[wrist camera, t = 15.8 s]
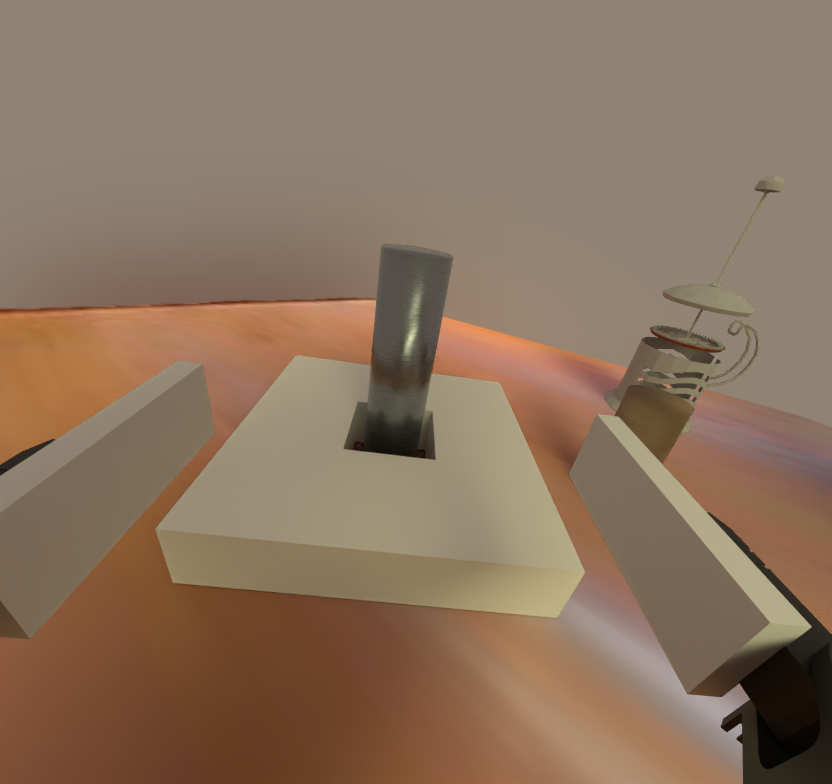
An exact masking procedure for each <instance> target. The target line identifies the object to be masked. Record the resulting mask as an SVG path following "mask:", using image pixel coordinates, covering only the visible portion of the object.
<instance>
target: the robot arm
mask: <svg viewBox="0 0 832 784" xmlns="http://www.w3.org/2000/svg"><path fill="white" fill-rule="evenodd" d="M214 434H215V429H214V424H213V418H212V412H211V407H210V401H209V396H208V390H207V385H206V379H205V374H204V368H203V364H201V363H194V362H186V361H177V362H175V363H174V364H172V365H171V366H169V367H167V368H166V369H164V370H163V371H161V372H160V373H158V374H157V375H155V376H154V377H152V378H150V379H149V380H147V381H146V382H144V383H143V384H141V385H140V386H138V387H137V388H135V389H133V390H132V391H130V392H129V393H127V394H126V395H124V396H123V397H121V398H120V399H118V400H116V401H115V402H113V403H112V404H110V405H109V406H107V407H106V408H104V409H103V410H101V411H100V412H98V413H96V414H95V415H93V416H92V417H90V418H89V419H87V420H86V421H84V422H83V423H81V424H79V425H78V426H76V427H75V428H73V429H72V430H70V431H69V432H67V433H66V434H64V435H62V436H61V437H59V438H58V439H56V440H55V439H52V440H49V441H47V442H44V443H42V444H39V445H37V446H35V447H32V448H30V449H27V450H25V451H22V452H20V453H19V454H17V455H16V456H14V457H12V458H11V459H9V460H8V461H6V462H4V463H3V464H1V465H0V637H8V638H20V639H31V638H32V637H33V636H34V635H35V634H36V633H37V632H38V631H39V629H40V628H41V627H42V626H43V625H44V624H45V623H46V622H47V621H48V619H49V618H50V617H51V616H52V615H53V614H54V613H55V612H56V610H57V609H58V608H59V607H60V606H61V605H62V604H63V603H64V602H65V600H66V599H67V598H68V597H69V596H70V595H71V594H72V593H73V592H74V590H75V589H76V588H77V587H78V586H79V585H80V584H81V583H82V581H83V580H84V579H85V578H86V577H87V576H88V575H89V574H90V573H91V571H92V570H93V569H94V568H95V567H96V566H97V565H98V564H99V562H100V561H101V560H102V559H103V558H104V557H105V556H106V555H107V554H108V552H109V551H110V550H111V549H112V548H113V547H114V546H115V545H116V543H117V542H118V541H119V540H120V539H121V538H122V537H123V536H124V535H125V533H126V532H127V531H128V530H129V529H130V528H131V527H132V526H133V525H134V523H135V522H136V521H137V520H138V519H139V518H140V517H141V516H142V514H143V513H144V512H145V511H146V510H147V509H148V508H149V507H150V506H151V504H152V503H153V502H154V501H155V500H156V499H157V498H158V497H159V495H160V494H161V493H162V492H163V491H164V490H165V489H166V488H167V487H168V485H169V484H170V483H171V482H172V481H173V480H174V479H175V478H176V476H177V475H178V474H179V473H180V472H181V471H182V470H183V469H184V468H185V466H186V465H187V464H188V463H189V462H190V461H191V460H192V459H193V458H194V456H195V455H196V454H197V453H198V452H199V451H200V450H201V449H202V447H203V446H204V445H205V444H206V443H207V442H208V441H209V440H210V439H211V437H212V436H213V435H214ZM569 476H570V478H571V480H572V482H573V484H574V486H575V487H576V489H577V491H578V493H579V495H580V497H581V498H582V500H583V502H584V504H585V506H586V508H587V510H588V511H589V513H590V515H591V517H592V519H593V521H594V523H595V524H596V526H597V528H598V530H599V532H600V534H601V535H602V537H603V539H604V541H605V543H606V545H607V547H608V548H609V550H610V552H611V554H612V556H613V558H614V560H615V561H616V563H617V565H618V567H619V569H620V571H621V572H622V574H623V576H624V578H625V580H626V582H627V584H628V585H629V587H630V589H631V591H632V593H633V595H634V597H635V598H636V600H637V602H638V604H639V606H640V608H641V609H642V611H643V613H644V615H645V617H646V619H647V621H648V622H649V624H650V626H651V628H652V630H653V632H654V634H655V635H656V637H657V639H658V641H659V643H660V645H661V646H662V648H663V650H664V652H665V654H666V656H667V658H668V659H669V661H670V663H671V665H672V667H673V669H674V671H675V672H676V674H677V676H678V678H679V680H680V682H681V683H682V685H683V687H684V689H685V691H686V693H687V694H691V695H703V696H715V697H722V696H724V695H725V694H726V693H727V692H729V691H730V690H731V689H733V688H734V687H735V686H736V685H738V684H739V683H740V685H741V686H742V688H743V689H744V691H745V692H746V694H747V695H748V697H749V698H750V700H749V701H747V702H746V703H745V704H743V705H742V706H740V707H739V708H738V709H736V710H735V711H734V712H732V713H731V714H729V715H728V716H727V717H725V718H724V719H723V722H722V724H721V728H722V729H723V730H725V731H726V732H728V731H730V730H731V729H732V728H734V727H735V726H737V725H738V724H740V723H741V724H742V734H741V735H740V736H738V737H737V740H738V741H739V742H741V743H742V745H743V784H832V635H831V634H830V633H829V632H828V630H827V629H826V628H825V627H824V626H823V625H822V624H821V623H820V622H819V621H818V620H817V619H816V618H815V617H814V616H813V615H812V614H811V613H810V611H809V610H808V609H807V608H806V607H805V606H804V605H803V604H802V603H801V602H800V601H799V600H798V599H797V598H796V597H795V596H794V595H793V594H792V593H791V591H790V590H789V589H788V588H787V587H786V586H785V585H784V584H783V583H782V582H781V581H780V580H779V579H778V578H777V577H776V576H775V575H774V574H773V572H772V571H771V570H770V569H766V568H765V564H764V563H763V562H762V561H761V560H760V559H759V558H758V557H757V556H756V555H755V554H754V552H750V550H749V549H750V548H749V547H748V546H747V545H746V544H745V543H744V542H743V541H742V540H741V539H740V538H739V537H738V536H737V535H736V534H735V532H734V531H733V530H732V529H730V528H729V527H728V526H726V525H725V524H724V523H722V522H721V521H720V520H718V519H717V518H716V517H714V516H713V515H712V514H710V513H708V512H706V511H705V510H704V509H703V508H702V507H701V506H700V505H699V504H698V503H697V501H696V500H695V499H694V498H693V497H692V496H691V495H690V494H689V493H688V492H687V491H686V490H685V488H684V487H683V486H682V485H681V484H680V483H679V482H678V481H677V480H676V479H675V478H674V476H673V475H672V474H671V473H670V472H669V471H668V470H667V469H666V468H665V467H664V466H663V465H662V463H661V462H660V461H659V460H658V459H657V458H656V457H655V456H654V455H653V454H652V453H651V451H650V450H649V449H648V448H647V447H646V446H645V445H644V444H643V443H642V442H641V441H640V440H639V438H638V437H637V436H636V435H635V434H634V433H633V432H632V431H631V430H630V429H629V428H628V426H627V425H626V424H625V423H624V422H623V421H622V420H621V419H620V418H619V417H617V416H609V415H601V414H597V415H596V417H595V419H594V421H593V423H592V426H591V428H590V430H589V432H588V434H587V436H586V438H585V441H584V443H583V445H582V447H581V449H580V451H579V453H578V456H577V458H576V460H575V462H574V464H573V466H572V468H571V471H570V473H569Z"/></svg>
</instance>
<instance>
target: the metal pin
mask: <svg viewBox="0 0 832 784" xmlns="http://www.w3.org/2000/svg"><path fill="white" fill-rule="evenodd" d="M452 261H453V256H452V255H450V254H447V253H444V252H440V251H436V250H432V249H427V248H422V247H415V246H407V245H397V244H383V245H382V246H381V254H380V266H379V277H378V290H377V300H376V311H375V322H374V334H373V345H372V356H371V368H370V379H369V391H368V402H367V413H366V425H365V436H364V447H363V452H372V453H380V454H389V455H397V456H406V457H414V458H416V456H417V451H418V446H419V440H420V435H421V429H422V424H423V419H424V413H425V408H426V402H427V397H428V392H429V386H430V381H431V375H432V370H433V365H434V359H435V354H436V348H437V343H438V337H439V332H440V327H441V321H442V316H443V310H444V305H445V300H446V294H447V288H448V283H449V278H450V272H451V267H452Z"/></svg>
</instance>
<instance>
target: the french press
mask: <svg viewBox="0 0 832 784" xmlns="http://www.w3.org/2000/svg"><path fill="white" fill-rule="evenodd" d="M783 186H784V181H783V179H782V178H781V177H776V176H770V177H765V178H764V179H762V180H761V181H760V182H759V183H758V184H757V185H756V187H755V189H754V190H756V191H762V192H764V193H765V194H764V195H763V197H762V199H761V201H760V203H759V204H758V206H757V208H756V210H755V212H754V213H753V215H752V217H751V219H750V221H749V223H748V224H747V226H746V228H745V230H744V232H743V234H742V235H741V237H740V239H739V241H738V243H737V244H736V246H735V248H734V250H733V252H732V254H731V255H730V257H729V259H728V261H727V263H726V264H725V266H724V268H723V270H722V272H721V274H720V276H719V277H718V279H717V281H716V283H715V284H714V283H712V284H709V285H703V284H702V285H701V284H688V285H681V286H676V287H673V288H670V289H667V290H664V291H663V296H664V297H665V298H666V299H669V300H671V301H674V302H677V303H680V304H684V305H687V306H691V307H694V308H698V309H701V310H700V312H699V314H698V315H697V317H696V319H695V321H694V323H693V325H692V327H691V328H690V330H689V332H687V331H685V330H682V329H678V328H677V329H678V330H677V329H676V328H673V327H669V328H668V327H667V326H660V327H659V326H653V327H651V328H650V330H651V333H653V334H654V335H655V336H657V337H658V338H656V337H645V338H643V339H642V340H641V342H640V344H639V346H638V348H637V350H636V353H635V355H634V356H633V359H632V361H631V363H630V365H629V367H628V369H627V371H626V373H625V375H624V377H623V379H622V381H621V383H620V385H619V387H618V389H616V390H613V391H610V392H608V393H606V394H605V401H606V402H607V403H608V404H609V406H610V407H611V408H612V409H614V410H615V411H617V410H618V408H619V405H620V403H621V401H622V399H623V397H624V395H625V392H626V390H627V388H628V387H629V386H631V385H644V386H650V387H654V388H658V389H661V390H664V391H667V392H670V393H672V394H674V395H677V396H679V397H680V398H682V399H684V400H686V401H687V402H688V403H690V404H691V405H692V406H694V405H695V403H696V401H697V400H698V398H699V397H700V395H701V394H702V392H703V391H704V389H705V388H707V387H711V386H718V385H723V384H726V383H728V382H731V381H733V380H734V379H736V378H737V377H739V376H741V375H742V374H743V373H744V372H745V371H746V370H747V369H748V368H749V367H750V366H751V364H752V363H753V361H754V360H755V358H756V357H757V356H758V351H759V345H760V338H759V336H758V334H757V331H755V330H754V329H753V328H752V327H751V326H750V325H749V324H744V323H743V322H742V321H740V320H735V321H733V322H732V323H731V325H730V326H729V328H728V333H729V334H731V335H733V336H734V335H737V334H738V333H739V332H740V330H741V329H742V328H743V327H744V328H745V330H746V333H747V336H748V342H747V346H746V350H745V352H744V353H743V355H742V356H741V358H740V360H739V361H738V362H737V363H736V364H735V365H734V366H733V367H732V368H730V369H729V370H728V371H726V372H725V373H724V374H721V375H718V376H715V377H712V375H713V373H714V372H715V370H716V369H717V367H718V366H719V364H720V361H719V360H717V361H716V363H715V364H710V363H711V362H712V360H713V359H714V356H713V355H711V354H710V353H708V352H711V353H716V352H721V351H722V350H724V349H725V347H724V346H723V344H722V343H721V342H717V341H713V340H714V339H713V340H712V339H709V337H708V338H706V336H705V337H703V336H700V335H697V333H696V334H694V332H693V333H691V331H692V329H693V327H694V325H695V323H696V321H697V320H698V318H699V316H700V314H701V312H702V311H703V310H707V311H711V312H716V313H720V314H726V315H732V316H740V317H748V316H750V315H751V314H753V313H754V312H755V311H754V310H753V308H752V307H751V306H750V305H749V304H748V302H746V301H745V300H744V299H743V298H741V297H740V296H739V295H738V294H736V293H733V292H731V291H728V290H726V289H723V288H721V286H720V285H719V284H717V283H718V282H719V280H720V278H721V276H722V274H723V273H724V271H725V269H726V267H727V265H728V264H729V262H730V260H731V258H732V256H733V254H734V253H735V251H736V249H737V247H738V245H739V244H740V242H741V240H742V238H743V236H744V235H745V233H746V231H747V229H748V227H749V226H750V224H751V222H752V220H753V218H754V216H755V215H756V213H757V211H758V209H759V208H760V206H761V204H762V202H763V200H764V198H765V197H766V195H767V193H769V192H780V191H781V190H782V188H783ZM737 322H739V323H740V324H741V325H742V326H740V328H739V329H738V330H737V332H736V333H733V332H731V329H732V327H733V325H734V323H737ZM666 327H667V328H666ZM748 328H749V329H750V330H751V331H752V332H753V333H754V335H755V338H756V350H755V353H754V356H753V358H752V359H751V360H750V362H749V363H748V364H747V366H746V367H745V368H744V370H743V371H741V372H740V373H739V374H737V375H736V376H735V377H734V378H732V379H730V380H727V381H724V382H722V383H716V384H708V385H707V383H708V382H709V380H712V379H716V378H719V377H722V376H724V375H726V374H728V373H729V372H730V371H732V370H733V369H734V368H735V367H737V366H738V365H739V364H740V363H741V361H742V360H743V358H744V357H745V355H746V354H747V352H748V349H749V345H750V342H751V334H750V331H749V329H748ZM657 349H673V350H676V351H677V352H680V353H681V354H683V355H684V356H686V357H687V358H688V359H689V360H685V359H682V358H678V357H675V356H673V355H671V354H666V353H663V352H661V351H659V350H657ZM646 368H649V369H650V370H651V371H649V372H644V371H643V369H646ZM652 371H656V372H652ZM660 372H661V373H660ZM662 373H668V374H669V373H673V374H674V375H675V376H676V377H677V378H670V377H668V376H666V375H664V374H662ZM681 373H682V374H681ZM704 374H706V375H708V376H707V378H703V379H701V378H702V377H703V375H704ZM651 376H652V377H651ZM640 377H642V378H643V379H644V380H642V381H638V380H637V379H638V378H640ZM657 377H658V378H657ZM662 384H670V385H671V386H672V387H673V388H669V389H668V388H667V387H665V386H664V385H662ZM697 385H700V386H701V387H700V389H699V391H697V390H695V388H696V386H697ZM691 395H692V396H695V397H694V399H693V400H692V401H691V400H688V399H689V398H690V396H691ZM691 429H692V426H691V424H690V421H689V420H688V421H687V423H686V425H685V427H684V428H683V430H682V432H681V433H688V432H689V431H690V430H691Z"/></svg>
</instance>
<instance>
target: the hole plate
mask: <svg viewBox="0 0 832 784" xmlns="http://www.w3.org/2000/svg"><path fill="white" fill-rule="evenodd" d="M370 368H371V365H366V364H359V363H351V362H344V361H337V360H329V359H322V358H314V357H307V356H299V355H296V356H295V357H294V358H293V360H292V361H291V362H290V363H289V364H288V366H287V367H286V368H285V369H284V371H283V372H282V373H281V374H280V376H279V377H278V378H277V379H276V381H275V382H274V383H273V384H272V385H271V387H270V388H269V389H268V390H267V392H266V393H265V394H264V395H263V397H262V398H261V399H260V400H259V401H258V403H257V404H256V405H255V406H254V408H253V409H252V410H251V411H250V413H249V414H248V415H247V416H246V418H245V419H244V420H243V421H242V422H241V424H240V425H239V426H238V427H237V429H236V430H235V431H234V432H233V434H232V435H231V436H230V437H229V439H228V440H227V441H226V442H225V443H224V445H223V446H222V447H221V448H220V450H219V451H218V452H217V453H216V455H215V456H214V457H213V458H212V460H211V461H210V462H209V463H208V464H207V466H206V467H205V468H204V469H203V471H202V472H201V473H200V474H199V476H198V477H197V478H196V479H195V481H194V482H193V483H192V484H191V485H190V487H189V488H188V489H187V490H186V492H185V493H184V494H183V495H182V497H181V498H180V499H179V500H178V501H177V503H176V504H175V505H174V506H173V508H172V509H171V510H170V511H169V513H168V514H167V515H166V516H165V518H164V519H163V520H162V521H161V522H160V524H159V525H158V526H157V527H156V529H155V530H156V533H157V536H158V539H159V542H160V545H161V548H162V551H163V554H164V558H165V561H166V564H167V567H168V570H169V573H170V576H171V579H172V582H173V583H180V584H191V585H202V586H213V587H223V588H234V589H245V590H256V591H267V592H278V593H289V594H300V595H311V596H322V597H333V598H344V599H355V600H366V601H377V602H388V603H399V604H410V605H420V606H431V607H442V608H453V609H464V610H475V611H486V612H497V613H508V614H519V615H530V616H541V617H552V618H557V617H558V616H559V614H560V612H561V611H562V609H563V607H564V606H565V604H566V603H567V601H568V599H569V598H570V596H571V595H572V593H573V591H574V590H575V588H576V586H577V585H578V583H579V582H580V580H581V578H582V577H583V575H584V573H585V571H584V568H583V566H582V564H581V562H580V560H579V557H578V555H577V553H576V551H575V548H574V546H573V544H572V542H571V540H570V537H569V535H568V533H567V531H566V528H565V526H564V524H563V522H562V520H561V517H560V515H559V513H558V511H557V508H556V506H555V504H554V502H553V500H552V497H551V495H550V493H549V491H548V489H547V486H546V484H545V482H544V480H543V477H542V475H541V473H540V471H539V469H538V466H537V464H536V462H535V460H534V457H533V455H532V453H531V451H530V449H529V446H528V444H527V442H526V440H525V437H524V435H523V433H522V431H521V429H520V426H519V424H518V422H517V420H516V417H515V415H514V413H513V411H512V409H511V406H510V404H509V402H508V400H507V397H506V395H505V393H504V391H503V389H502V386H501V384H500V382H493V381H485V380H478V379H471V378H463V377H456V376H448V375H441V374H433V373H432V375H431V381H430V386H429V392H428V397H427V402H426V408H425V413H424V419H423V424H422V429H421V435H420V440H419V446H418V449H420V450H425V459H423V458H414V457H406V456H397V455H389V454H380V453H372V452H363V451H355V450H353V447H354V443H355V442H361V443H364V436H365V425H366V413H367V402H368V391H369V379H370Z"/></svg>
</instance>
